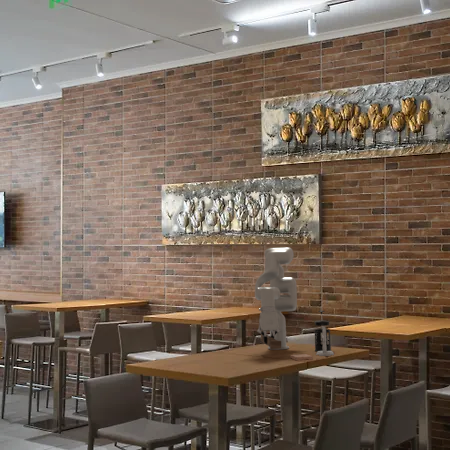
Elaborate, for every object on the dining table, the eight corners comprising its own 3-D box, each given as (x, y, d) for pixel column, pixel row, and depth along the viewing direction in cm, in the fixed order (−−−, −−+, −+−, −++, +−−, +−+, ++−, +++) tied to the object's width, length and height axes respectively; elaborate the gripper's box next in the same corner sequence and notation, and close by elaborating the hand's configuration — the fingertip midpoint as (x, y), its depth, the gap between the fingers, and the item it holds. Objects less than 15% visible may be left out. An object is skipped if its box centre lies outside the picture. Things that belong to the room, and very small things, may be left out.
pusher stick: (258, 341, 422) (258, 334, 422) (268, 340, 424) (268, 333, 424) (270, 349, 400) (270, 341, 400) (281, 348, 401) (281, 341, 401)
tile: (290, 355, 401) (296, 357, 392) (305, 354, 404) (312, 356, 394) (290, 358, 401) (296, 361, 392) (305, 357, 404) (312, 360, 394)
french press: (319, 349, 435) (317, 309, 436) (334, 350, 430) (332, 310, 431) (310, 351, 425) (309, 311, 426) (326, 352, 420) (324, 311, 421)
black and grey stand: (314, 356, 407) (313, 328, 408) (317, 353, 417) (316, 326, 417) (332, 356, 405) (331, 328, 405) (335, 353, 414) (334, 326, 415)
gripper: (255, 310, 408) (256, 344, 407) (284, 309, 412) (285, 343, 411) (252, 310, 415) (253, 343, 414) (280, 309, 419) (281, 342, 418)
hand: (269, 343), depth 412 cm, fingers closed on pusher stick, 3 cm apart
